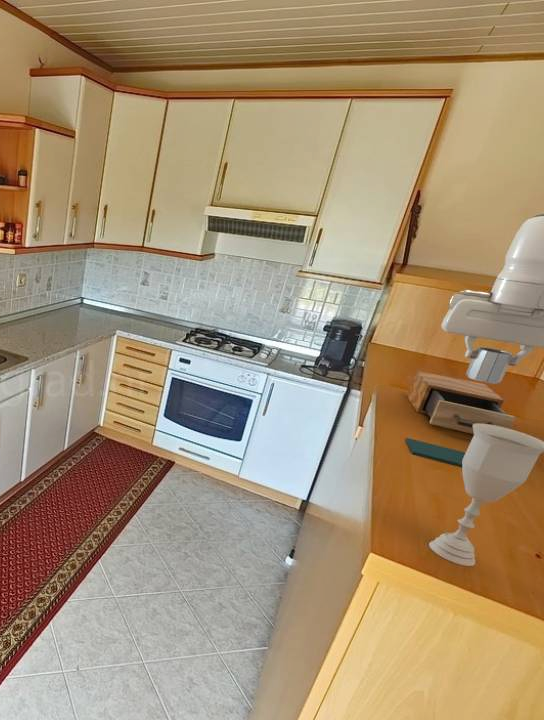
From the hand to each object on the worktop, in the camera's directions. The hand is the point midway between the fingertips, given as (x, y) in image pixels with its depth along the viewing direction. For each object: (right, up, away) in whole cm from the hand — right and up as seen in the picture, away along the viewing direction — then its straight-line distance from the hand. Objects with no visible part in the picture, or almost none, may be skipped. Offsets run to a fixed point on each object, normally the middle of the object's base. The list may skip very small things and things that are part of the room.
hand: (490, 361), depth 103 cm
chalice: (-40, -28, -36) cm, 61 cm away
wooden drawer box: (+3, -15, +10) cm, 18 cm away
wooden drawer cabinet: (+9, -12, +22) cm, 27 cm away
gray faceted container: (0, -4, +1) cm, 4 cm away
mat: (-13, -20, -5) cm, 24 cm away
